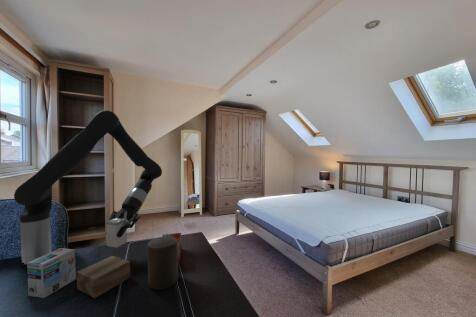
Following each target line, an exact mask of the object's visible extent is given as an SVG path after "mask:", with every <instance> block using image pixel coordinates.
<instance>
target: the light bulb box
mask: <svg viewBox="0 0 476 317" xmlns="http://www.w3.org/2000/svg"><path fill="white" fill-rule="evenodd" d="M26 269H27V288H28V289H27V292H28V297H34V298H40V299H45V298H47V297H48V296H51V295H52V294H53V293H55V292H57V291H58V290H60V289H61V288H63V287H66V286H67V285H69V284H70V283H72V282H73V281H75V280H77V271H76V250H75V249H70V248H62V247H59V248H58V249H56V250H52V252H51V253H48V254H46V255H44V256H41V257H39V258H37V259H34V260H32V261H30V262H27V264H26Z"/></svg>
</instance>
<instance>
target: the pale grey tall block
mask: <svg viewBox="0 0 476 317" xmlns="http://www.w3.org/2000/svg"><path fill="white" fill-rule="evenodd" d="M108 220H109V219H108ZM108 220H107V221H105V236H106V238H105V239H106V240H105V241H106V246H107V247H112V248H119V247H120V246H122V245H124V244H127V242H128V232H127V231H128V229H126V231H125V232H124V234H123V235H122V236H121V237H118V236H117V233H118V231H119V230H120V228H121V227H123V226H122V225H123V223H124V220H123V219H122V218H117V219H112V220H109V221H108ZM126 224H127V223H126Z"/></svg>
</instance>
